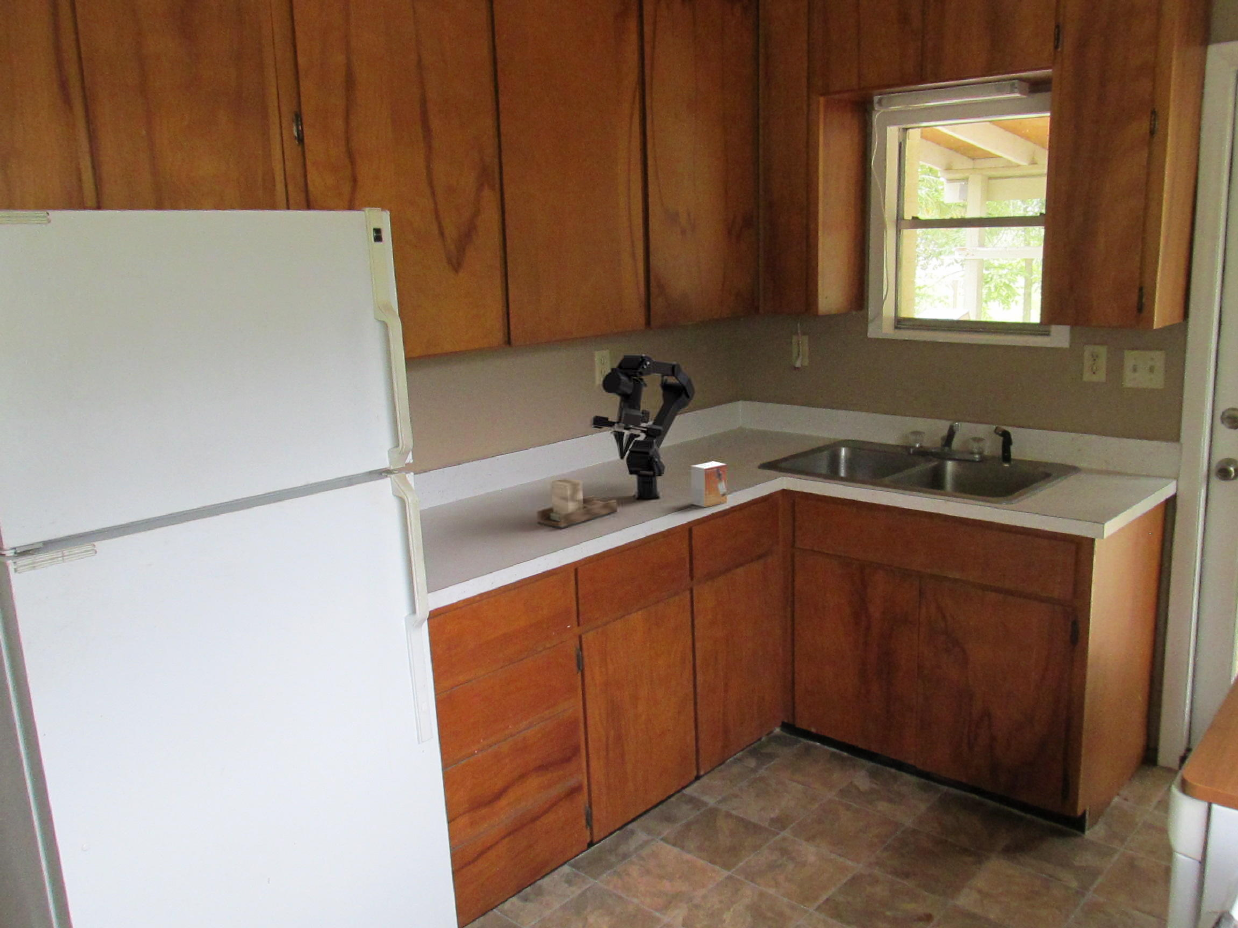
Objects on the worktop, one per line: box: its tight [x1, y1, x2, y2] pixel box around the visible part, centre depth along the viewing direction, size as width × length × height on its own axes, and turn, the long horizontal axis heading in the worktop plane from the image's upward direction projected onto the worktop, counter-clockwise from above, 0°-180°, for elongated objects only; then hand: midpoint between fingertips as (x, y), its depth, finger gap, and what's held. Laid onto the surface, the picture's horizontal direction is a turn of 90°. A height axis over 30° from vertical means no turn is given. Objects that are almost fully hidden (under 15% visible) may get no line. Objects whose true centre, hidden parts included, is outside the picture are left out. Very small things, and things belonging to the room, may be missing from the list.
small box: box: [690, 460, 728, 508], centre depth 274 cm, size 8×6×10 cm
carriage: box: [550, 477, 584, 515], centre depth 262 cm, size 5×6×8 cm
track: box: [536, 495, 618, 530], centre depth 266 cm, size 20×9×3 cm, turn 136°
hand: (621, 459), depth 272 cm, fingers closed
